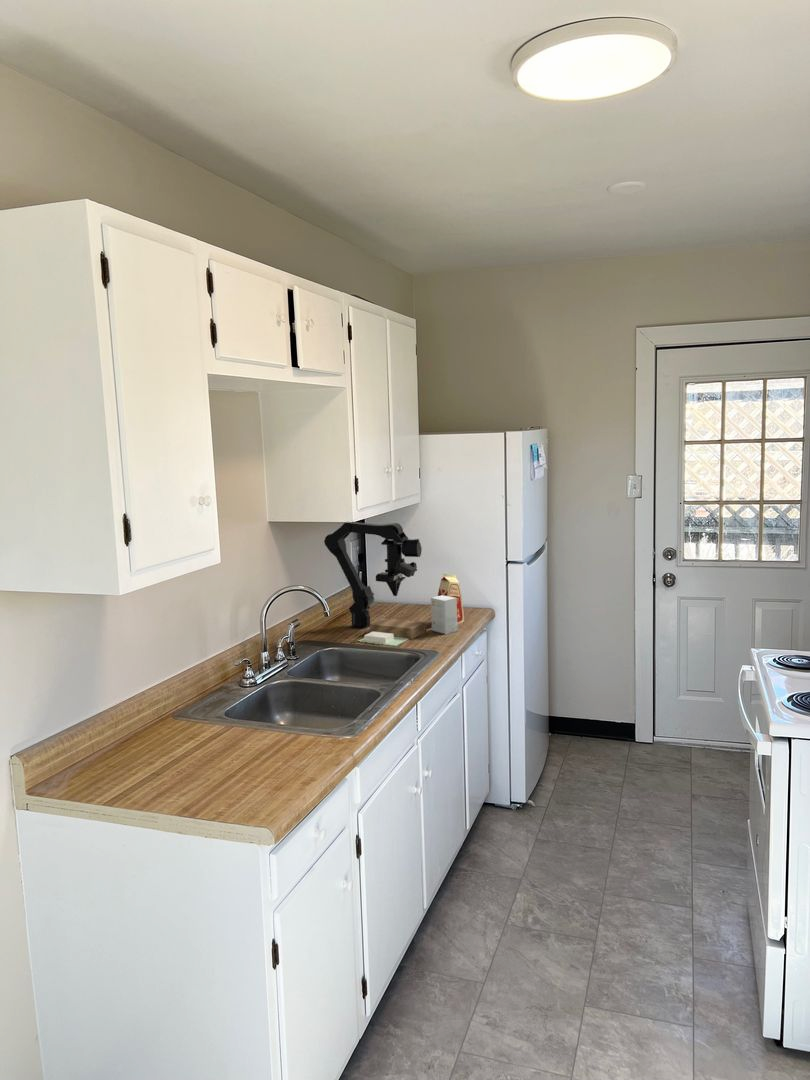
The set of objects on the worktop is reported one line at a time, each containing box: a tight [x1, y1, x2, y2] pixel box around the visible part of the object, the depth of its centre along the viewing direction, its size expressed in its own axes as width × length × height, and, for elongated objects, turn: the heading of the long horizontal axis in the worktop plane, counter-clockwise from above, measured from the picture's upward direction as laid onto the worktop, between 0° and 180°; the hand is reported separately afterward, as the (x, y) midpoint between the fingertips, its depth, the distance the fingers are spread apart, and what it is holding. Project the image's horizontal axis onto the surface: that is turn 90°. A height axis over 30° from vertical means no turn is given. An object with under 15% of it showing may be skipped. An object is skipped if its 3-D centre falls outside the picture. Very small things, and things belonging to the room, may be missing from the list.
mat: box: [358, 637, 410, 647], centre depth 296 cm, size 16×10×1 cm, turn 61°
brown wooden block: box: [369, 617, 425, 640], centre depth 305 cm, size 18×10×4 cm, turn 61°
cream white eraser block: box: [363, 632, 394, 643], centre depth 296 cm, size 9×6×2 cm, turn 61°
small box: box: [430, 595, 458, 635], centre depth 306 cm, size 8×6×13 cm
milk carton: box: [437, 573, 465, 625], centre depth 319 cm, size 9×9×20 cm
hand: (395, 595), depth 311 cm, fingers closed
